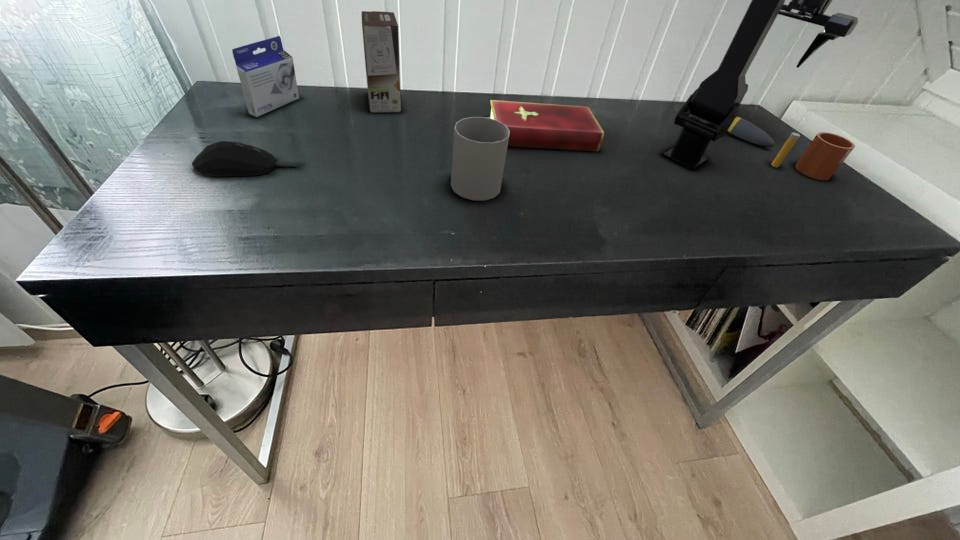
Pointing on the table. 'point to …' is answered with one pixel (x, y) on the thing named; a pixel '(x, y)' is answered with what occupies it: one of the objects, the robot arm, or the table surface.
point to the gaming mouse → (235, 160)
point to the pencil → (785, 149)
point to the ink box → (266, 76)
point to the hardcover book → (548, 125)
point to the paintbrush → (748, 132)
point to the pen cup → (824, 155)
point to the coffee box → (382, 60)
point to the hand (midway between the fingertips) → (775, 60)
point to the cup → (479, 157)
